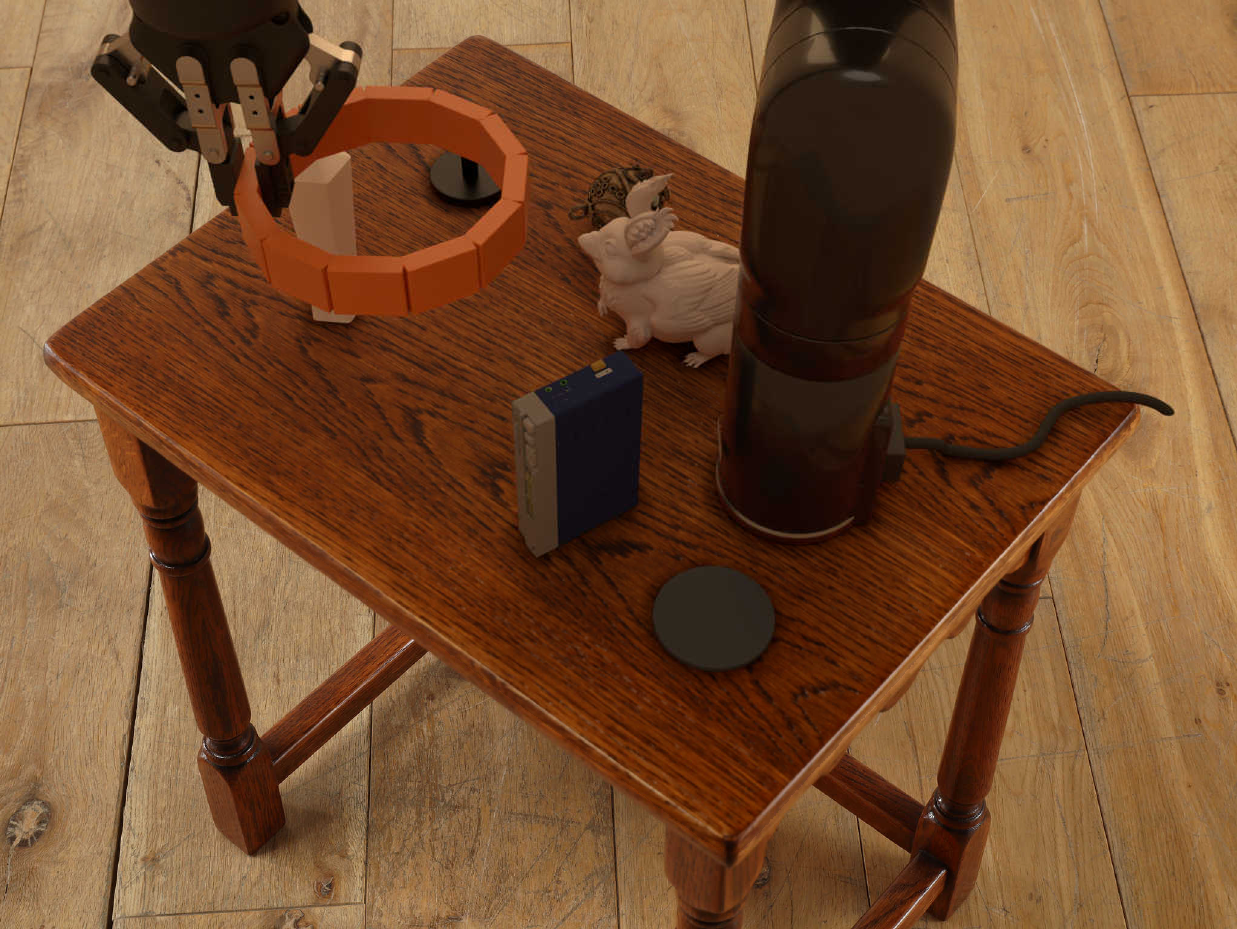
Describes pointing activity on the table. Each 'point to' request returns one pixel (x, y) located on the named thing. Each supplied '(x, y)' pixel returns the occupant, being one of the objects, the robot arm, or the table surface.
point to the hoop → (419, 274)
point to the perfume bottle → (326, 213)
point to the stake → (462, 181)
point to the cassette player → (578, 451)
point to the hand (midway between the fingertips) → (259, 205)
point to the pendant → (615, 195)
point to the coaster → (713, 618)
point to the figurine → (665, 278)
